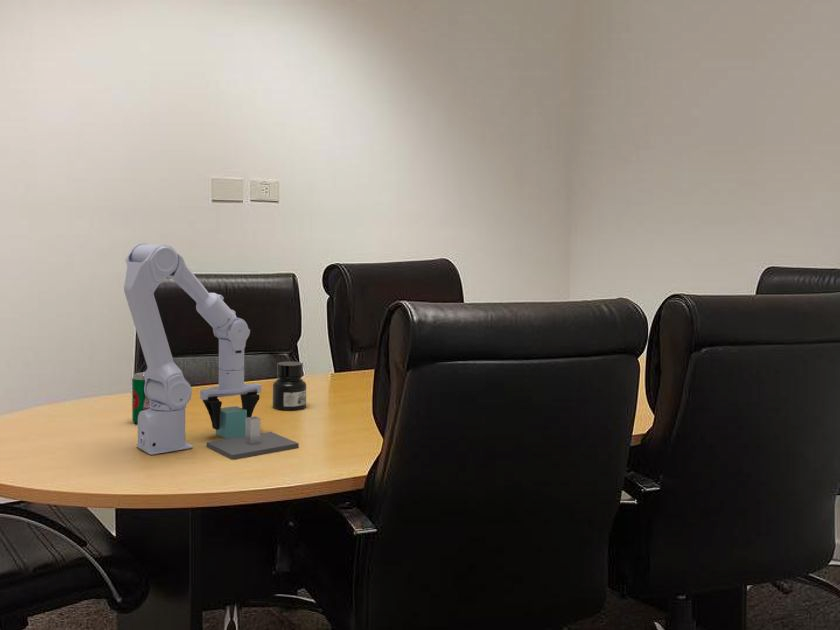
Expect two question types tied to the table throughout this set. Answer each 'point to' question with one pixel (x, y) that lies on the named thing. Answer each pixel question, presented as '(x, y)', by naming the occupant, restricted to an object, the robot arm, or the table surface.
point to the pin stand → (252, 442)
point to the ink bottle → (289, 387)
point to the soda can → (138, 396)
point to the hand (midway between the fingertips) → (231, 426)
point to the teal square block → (232, 422)
